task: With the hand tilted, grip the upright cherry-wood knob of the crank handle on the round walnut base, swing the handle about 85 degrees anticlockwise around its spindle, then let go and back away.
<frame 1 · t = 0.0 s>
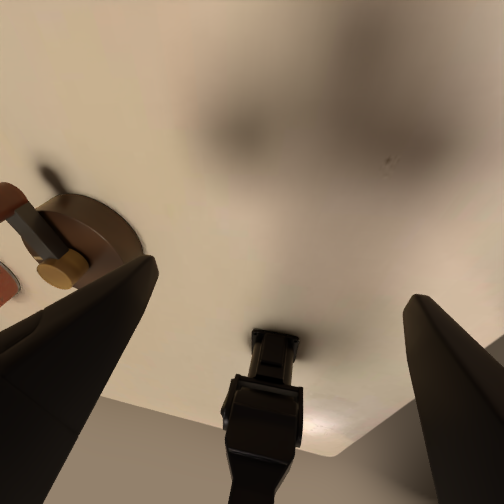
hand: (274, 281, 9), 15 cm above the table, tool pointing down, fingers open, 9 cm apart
crank handle: (10, 260, 23), point 8 cm above the table, hinge at 0.0°
crank base: (95, 239, 32), on the table
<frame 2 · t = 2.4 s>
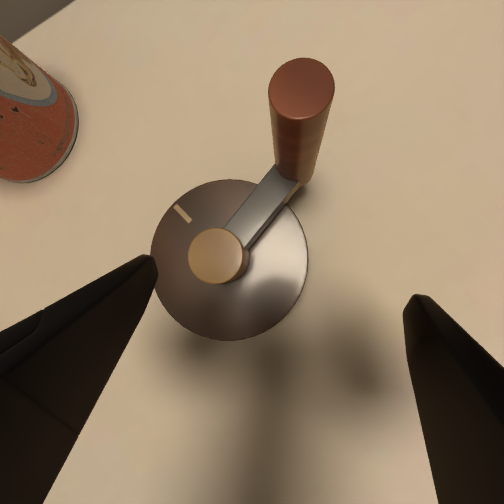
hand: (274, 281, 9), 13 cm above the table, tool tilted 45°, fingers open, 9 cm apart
canned food: (29, 129, 27), on the table
crank handle: (248, 201, 15), point 8 cm above the table, hinge at 0.0°
crank base: (234, 260, 23), on the table
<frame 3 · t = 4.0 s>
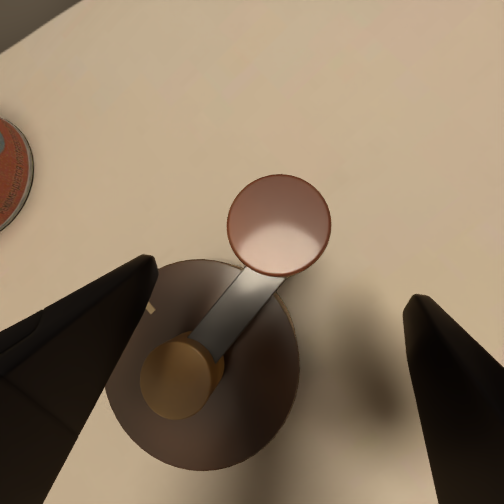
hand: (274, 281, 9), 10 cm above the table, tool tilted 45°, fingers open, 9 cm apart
crank handle: (215, 325, 11), point 8 cm above the table, hinge at 0.0°
crank base: (212, 346, 19), on the table
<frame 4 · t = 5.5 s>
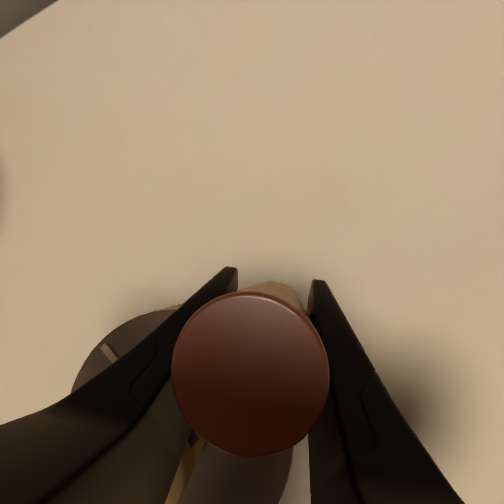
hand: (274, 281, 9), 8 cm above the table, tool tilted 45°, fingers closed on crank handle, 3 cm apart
crank handle: (183, 425, 9), point 8 cm above the table, hinge at 0.0°, touching gripper
crank base: (196, 399, 17), on the table
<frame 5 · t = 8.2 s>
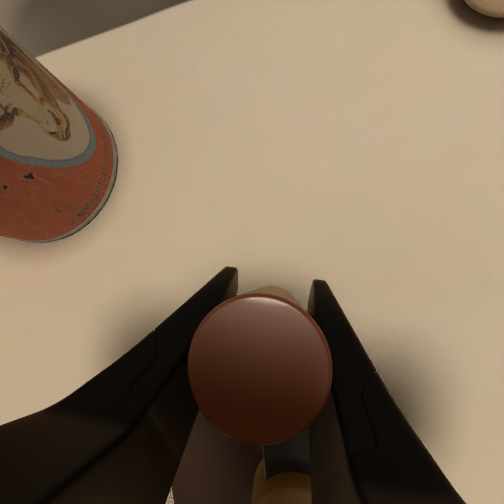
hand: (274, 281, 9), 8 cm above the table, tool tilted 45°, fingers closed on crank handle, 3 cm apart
canned food: (49, 169, 20), on the table
crank handle: (283, 462, 8), point 8 cm above the table, hinge at 58.8°, touching gripper
crank base: (289, 438, 16), on the table
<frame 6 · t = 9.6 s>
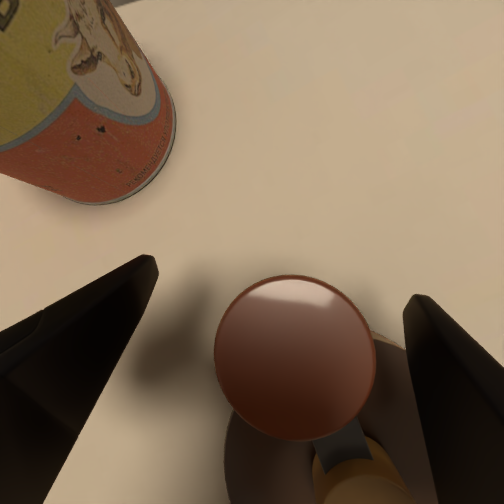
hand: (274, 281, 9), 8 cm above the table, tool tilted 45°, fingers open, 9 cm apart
canned food: (104, 131, 20), on the table
crank handle: (340, 452, 8), point 8 cm above the table, hinge at 78.3°
crank base: (336, 427, 16), on the table
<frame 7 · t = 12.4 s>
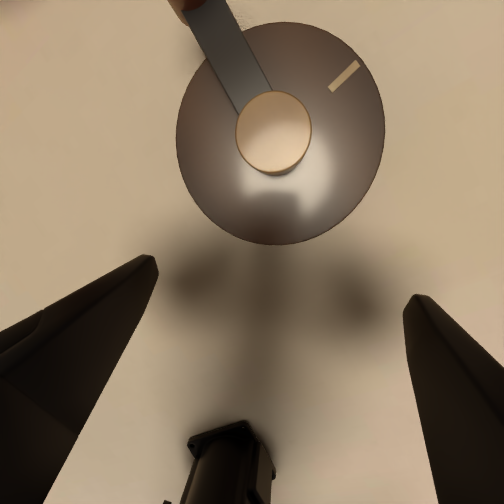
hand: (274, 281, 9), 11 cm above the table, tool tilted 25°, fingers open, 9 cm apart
crank handle: (222, 34, 10), point 8 cm above the table, hinge at 78.3°
crank base: (277, 151, 19), on the table
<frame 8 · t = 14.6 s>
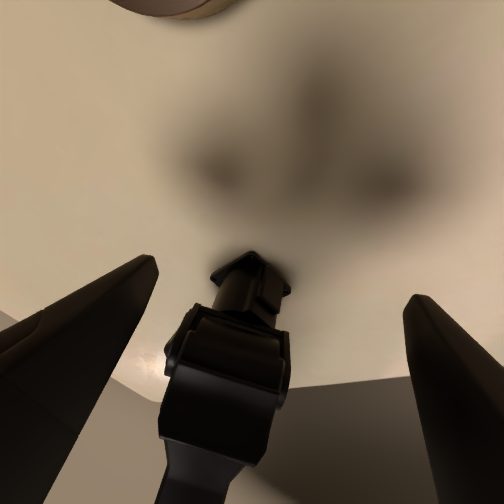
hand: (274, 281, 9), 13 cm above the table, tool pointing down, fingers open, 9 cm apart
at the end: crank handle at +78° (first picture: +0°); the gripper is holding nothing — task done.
